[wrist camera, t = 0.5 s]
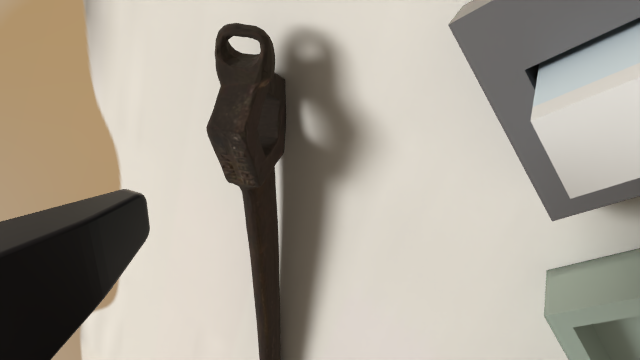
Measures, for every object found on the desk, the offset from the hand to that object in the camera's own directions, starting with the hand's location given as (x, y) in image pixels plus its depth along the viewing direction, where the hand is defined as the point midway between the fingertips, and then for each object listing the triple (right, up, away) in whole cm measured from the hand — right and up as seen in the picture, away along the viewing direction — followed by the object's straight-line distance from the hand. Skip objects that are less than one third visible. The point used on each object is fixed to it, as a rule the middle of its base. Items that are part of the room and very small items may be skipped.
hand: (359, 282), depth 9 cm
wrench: (-5, -3, +22) cm, 23 cm away
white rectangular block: (+10, +6, +9) cm, 15 cm away
